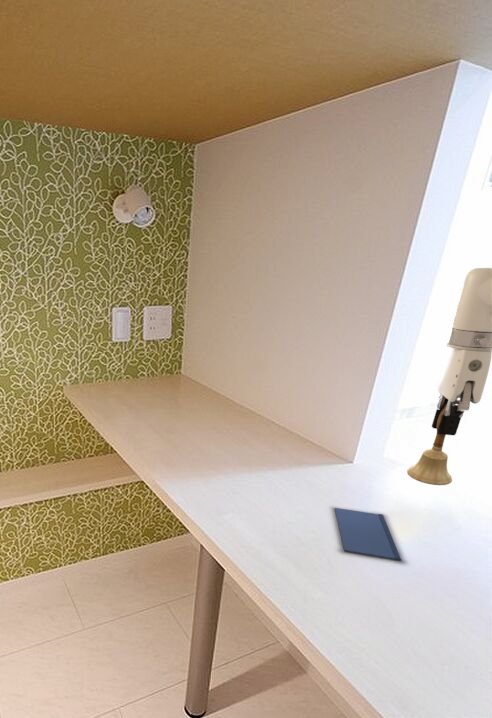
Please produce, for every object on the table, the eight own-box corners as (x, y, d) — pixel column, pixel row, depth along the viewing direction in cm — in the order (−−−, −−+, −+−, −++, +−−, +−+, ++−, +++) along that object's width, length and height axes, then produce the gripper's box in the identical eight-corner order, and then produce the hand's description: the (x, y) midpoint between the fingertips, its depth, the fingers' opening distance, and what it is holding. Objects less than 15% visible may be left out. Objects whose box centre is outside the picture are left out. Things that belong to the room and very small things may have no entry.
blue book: (382, 516, 96) (383, 514, 96) (400, 560, 82) (401, 558, 82) (334, 508, 98) (335, 507, 98) (344, 551, 84) (344, 549, 84)
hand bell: (404, 478, 92) (425, 407, 85) (409, 464, 99) (428, 396, 92) (450, 489, 88) (476, 415, 81) (452, 473, 94) (476, 403, 87)
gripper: (516, 348, 73) (480, 448, 81) (477, 334, 87) (449, 420, 95) (465, 346, 75) (434, 444, 83) (435, 332, 89) (411, 417, 97)
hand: (443, 430), depth 89 cm, fingers closed on hand bell, 2 cm apart
